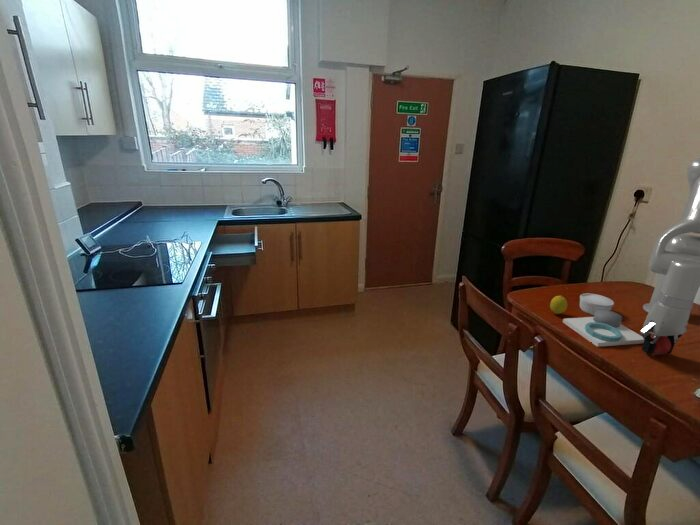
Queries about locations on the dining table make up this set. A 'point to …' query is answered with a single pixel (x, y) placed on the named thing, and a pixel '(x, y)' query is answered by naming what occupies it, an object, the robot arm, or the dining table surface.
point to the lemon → (558, 304)
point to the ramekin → (594, 303)
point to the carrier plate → (604, 329)
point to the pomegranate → (662, 345)
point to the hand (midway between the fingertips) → (656, 351)
